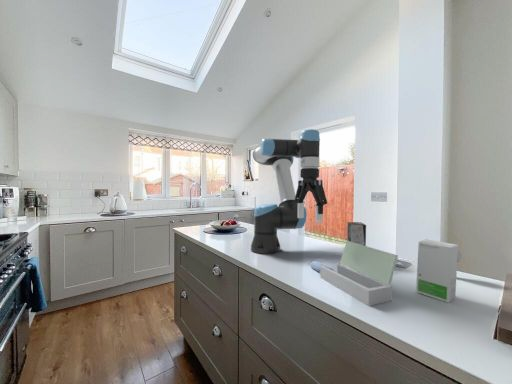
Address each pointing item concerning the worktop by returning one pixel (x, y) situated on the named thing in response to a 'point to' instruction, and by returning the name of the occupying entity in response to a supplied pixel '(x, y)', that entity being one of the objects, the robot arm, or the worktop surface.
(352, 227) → the coffee box
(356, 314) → the worktop surface
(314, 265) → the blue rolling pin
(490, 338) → the worktop surface
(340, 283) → the white u-shaped channel
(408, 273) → the worktop surface
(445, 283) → the skincare box
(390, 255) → the cover
